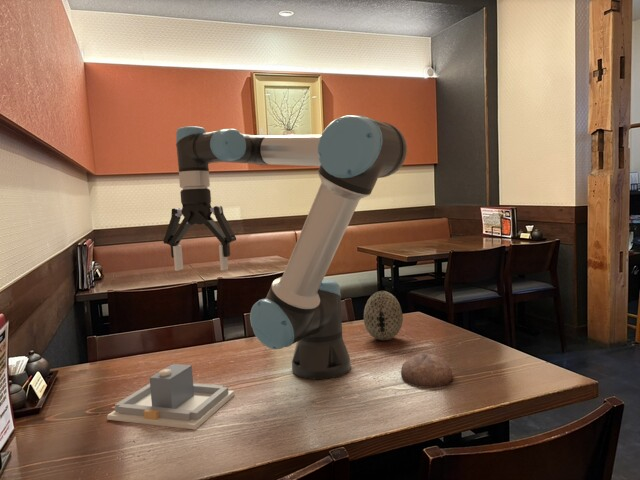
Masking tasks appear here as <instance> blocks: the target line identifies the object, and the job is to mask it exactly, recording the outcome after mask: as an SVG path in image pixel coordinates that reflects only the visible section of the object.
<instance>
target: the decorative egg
mask: <svg viewBox="0 0 640 480" xmlns="http://www.w3.org/2000/svg"><path fill="white" fill-rule="evenodd" d="M403 320H404V318H403V312H402V307H401V305H400V302H399V301H398V299H397V298H396V296H395V295H393V294H392V293H390V292H388V291H385V290H380V291H376V292H374V293H372V294H371V295H370V297H369V298H368V299H367V301H366V304H365V305H364V309H363V323H364V326H365V327H364V328H365V330H366V331H367V332H368V334H369V335H370V336H371V337H373V338H374V339H376V340H378V341H388V340H391V339H393V338H395V337H396V336H397V335H398V334H399V332H400V331H401V328H402V326H403Z"/></svg>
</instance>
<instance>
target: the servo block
mask: <svg viewBox="0 0 640 480" xmlns="http://www.w3.org/2000/svg"><path fill="white" fill-rule="evenodd" d="M193 375H194V374H193V366H192V365H191V364H180V363H172V364H170V365H169V366H167V367H165V368H163V369H160V370H159V371H158V372H157V373H154V374H153V375H151V376H150V377H149V383H150V389H151V400H152V407H162V408H172V409H177V408H178V407H179V406H181V405H182V404H183V403H185V402H186V401H187V400H189V399H190V398H191V397H193V396H194V388H193V383H194V379H193V378H194V377H193Z"/></svg>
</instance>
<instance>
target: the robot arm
mask: <svg viewBox="0 0 640 480" xmlns="http://www.w3.org/2000/svg"><path fill="white" fill-rule="evenodd" d="M175 132H176V133H175V135H176V138H175V139H176V140H175V142H176V143H175V146H176V154H177V155H176V156H177V165H178V180H179V188H181V191H180V203H181V205H182V208H179V207H177V208H176V207H175V208H172V209H171V213H170V214H171V215H170V217H171V218H170V220H169V223H168V226H167V229H166V233H165V235H164V238H163V241H162V243H163V244H167V245H169V246H170V252H171V253H170V255H171V258H172V259H173V261H174V263H173V264H174V271H175V272H177V271H181V270H184V260H183V250H182V249H183V248H182V246H183V245H182V244H180V242H181V240H182V239H184V238H183V237H184V236H185V235H186V234H187V231H188V229H189V228H190V227H191V226H195V225H199V226H200V225H204V226H206V227H207V229H209V230H210V231H211V233H212V234H213V235H214V236H215V237H216V239H217V240H218V241H219V242H220V244H218V252H219V267H220V268H219V269H220V271H225V270H228V269H229V259H228V258H229V257H230V256H231V246H230V245H231V243H233V242H236V241H237V237H236V236H235V233H234V232H233V230H232V228H231V226H230V224H229V221H228V220H227V218H226V216H225V215H224V208H223V206H222V205H215V206H213V207H212V205H211V203H212V197H211V195H212V194H211V190H210V188H209V187H210V185H211V184H210V168H209V164H214V163H215V164H216V163H232V164H233V163H234V164H249V165H250V164H252V165H259V166H262V165H274V166H275V165H278V166H298V167H299V166H302V167H304V166H307V167H319V168H318V171H317V173H318V177H319V179H320V182H321V183H320V186H319V187H318V190H317V193H316V195H315V198H314V200H313V202H312V205H311V208H310V209H309V211H308V214H307V217H306V218H305V220H304V224H303V226H302V229H301V231H300V233H299V236H298V238H297V241H296V242H295V246H294V248H293V250H292V252H291V255H290V257H289V260H288V262H287V264H286V267H285V269H284V272H283V274H282V276H280V277H278V278H276V279H274V280H273V281H272V282H271V286H270V288H269V291H268V292H267V295H266V297H265V298H262V299H258V301H256V302H255V303H254V304H253V305H252V307H251V310H250V314H249V321H250V326H251V328H252V332H253V334H254V336H255V338H256V339H257V340H258V341H259V342H260V343H261V344H262V345H264V346H265V347H266V348H268V349H271V350H281V349H284V348H288V347H290V346H292V345H293V344H295V348H294V352H293V356H292V359H291V370H292V373H293V375H295V376H297V377H299V378H304V379H309V380H326V379H333V378H337V377H340V376H343V375H345V374H347V373H348V372H349V371H350V370H351V368H352V364H351V357H350V354H349V352H348V349H347V347H346V342H345V340H344V338H343V324H342V323H343V321H342V301H341V300H342V294H341V288H340V285H339V283H338V282H337V281H336V280H335V281H334V280H330V279H329V280H326V279H324V278H325V277H326V274H327V272H328V270H329V267H330V266H331V264H332V261H333V259H334V256H335V254H336V253H337V250H338V248H339V246H340V243H341V241H342V239H343V237H344V235H345V233H346V231H347V229H348V226H349V225H350V222H351V220H352V217H353V215H354V213H355V211H356V209H357V208H358V204H359V203H360V200H361V199H364V198H367V197H370V195H371V194H372V192H373V190H374V188H375V185H376V183H377V181H378V179H380V178H381V179H382V178H387V177H389V176H392V175H393V174H394V175H395V173H397V172H398V171H399V170H400V169H401V167H403V164H404V163H405V161H406V159H407V156H408V155H407V153H408V146H407V140H406V138H405V136H404V134H403V133H402V131H401V130H400V129H399V128H398V127H396V126H395V125H393V124H391V123H388V122H384V121H381V120H377V119H373V118H370V117H367V116H364V115H348V114H347V115H343V116H340V117H338V118H336V119H334V120H333V121H331V122H330V123H329V124H328V125H327V126H326V127H325V128H324V130H323V131H322V133H321V134H285V135H284V134H282V135H280V134H278V135H275V134H274V135H270V134H269V135H267V134H265V135H263V134H261V135H257V134H256V135H255V134H247V133H241V132H240V131H239V130H238V129H235V128H221V129H218V130H214V131H210V132H207V131H206V129H205V128H204V127H201V126H193V125H192V126H191V125H190V126H183V127H179V128H177V130H176V131H175ZM211 215H214V217H215V219H216V221H217V223H218V224H217V223H216V221H215V220H214V219H213V217H212V216H211ZM182 216H183V219H182V220H181V217H182ZM180 220H181V222H180ZM179 223H180V225H179ZM218 225H219V226H218ZM178 226H179V227H178Z"/></svg>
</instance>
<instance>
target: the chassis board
mask: <svg viewBox="0 0 640 480" xmlns="http://www.w3.org/2000/svg"><path fill="white" fill-rule="evenodd" d="M193 388H194V396H193V397H191V398H190V399H189V400H187V401H186V402H185V403H183V404H182V405H181V406H179V407H178V408H177V409H172V408H162V407H152V400H151V389H150V382H149V383H147V384H146V385H144V386H143V387H141V388H140V389H138V390H136V391H135V392H133V393H132V394H129V395H128V396H126V397H125V398H123V399H121V400H120V401H118V402H117V403H115V404H114V410H113V411H111V412H110V413H108V414H107V417H106V418H107V420H108V421H109V420H110V421H116V422H117V421H118V422H124V423H125V422H126V423H133V424H134V423H135V424H142V425H150V426H151V425H152V426H158V427H159V426H161V427H168V428H169V427H170V428H178V429H187V430H193V431H195V430H197V429H198V428H200V426H201V425H202V424H204V423H205V422H206V421H207V420H208V419H209V418H210V417H212V415H214V413H217V411H218V410H219V409H220V408H222V407H223V406H224V405H225V404H226V403H227V402H228V401H230V400H231V399H232V398H233V397H234V396H235V390H229V387H226V386H225V385H224V384H223V385H222V384H221V385H219V384H209V383H197V382H196V383H195V382H193Z"/></svg>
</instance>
